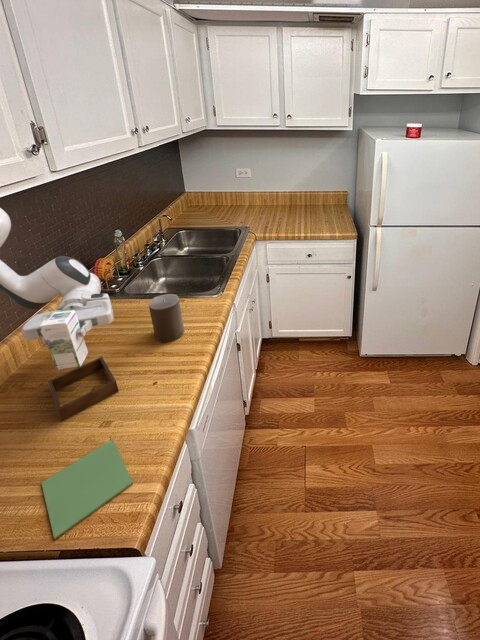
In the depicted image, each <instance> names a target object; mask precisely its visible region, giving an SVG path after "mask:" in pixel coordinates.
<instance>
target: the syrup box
mask: <svg viewBox="0 0 480 640" xmlns="http://www.w3.org/2000/svg"><path fill="white" fill-rule="evenodd" d="M40 327H41V330H42V332H43V335H44V338H45V341H46V343H47V344H46V346H47V348H48V349H47V350H48V351H49V354H50V356H51V360H52V362H53V365H54V368H55V369H56V371H61V370H69V369H75V368H78V367H81V366H82V365H83V363H84V362H85V360H86V358H87V356H88V354H89V350H88V348H87V345H86V341H85V338H84V336H82V337H77V334H76V332H77V329H78V328H80V325H79V321H78V318H77V315H76V312H75V310H71V311H62V312H54V313H50V314H49V315H48V316H47V317H46V318H45V320H44V321H43V322H42V324H41V325H40Z"/></svg>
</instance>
